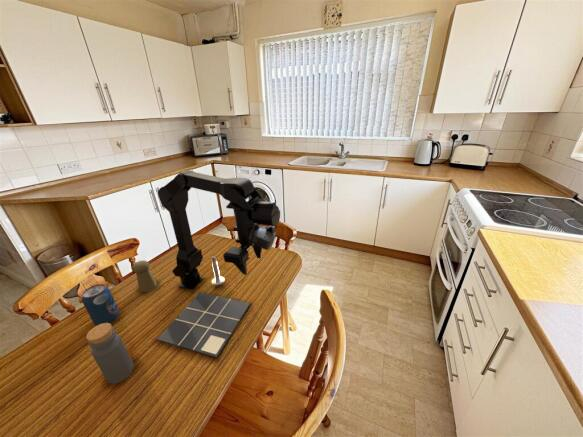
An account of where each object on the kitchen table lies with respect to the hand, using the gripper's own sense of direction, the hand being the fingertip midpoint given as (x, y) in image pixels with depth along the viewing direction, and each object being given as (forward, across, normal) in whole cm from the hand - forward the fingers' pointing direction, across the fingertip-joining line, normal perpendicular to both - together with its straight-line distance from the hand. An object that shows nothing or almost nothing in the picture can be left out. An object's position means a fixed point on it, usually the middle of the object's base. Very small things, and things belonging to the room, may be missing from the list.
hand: (252, 265), depth 76 cm
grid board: (+14, -13, +11) cm, 22 cm away
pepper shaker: (+14, -7, +43) cm, 46 cm away
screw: (+14, +3, +18) cm, 23 cm away
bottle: (+14, -34, +22) cm, 43 cm away
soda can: (+14, -23, +42) cm, 50 cm away
